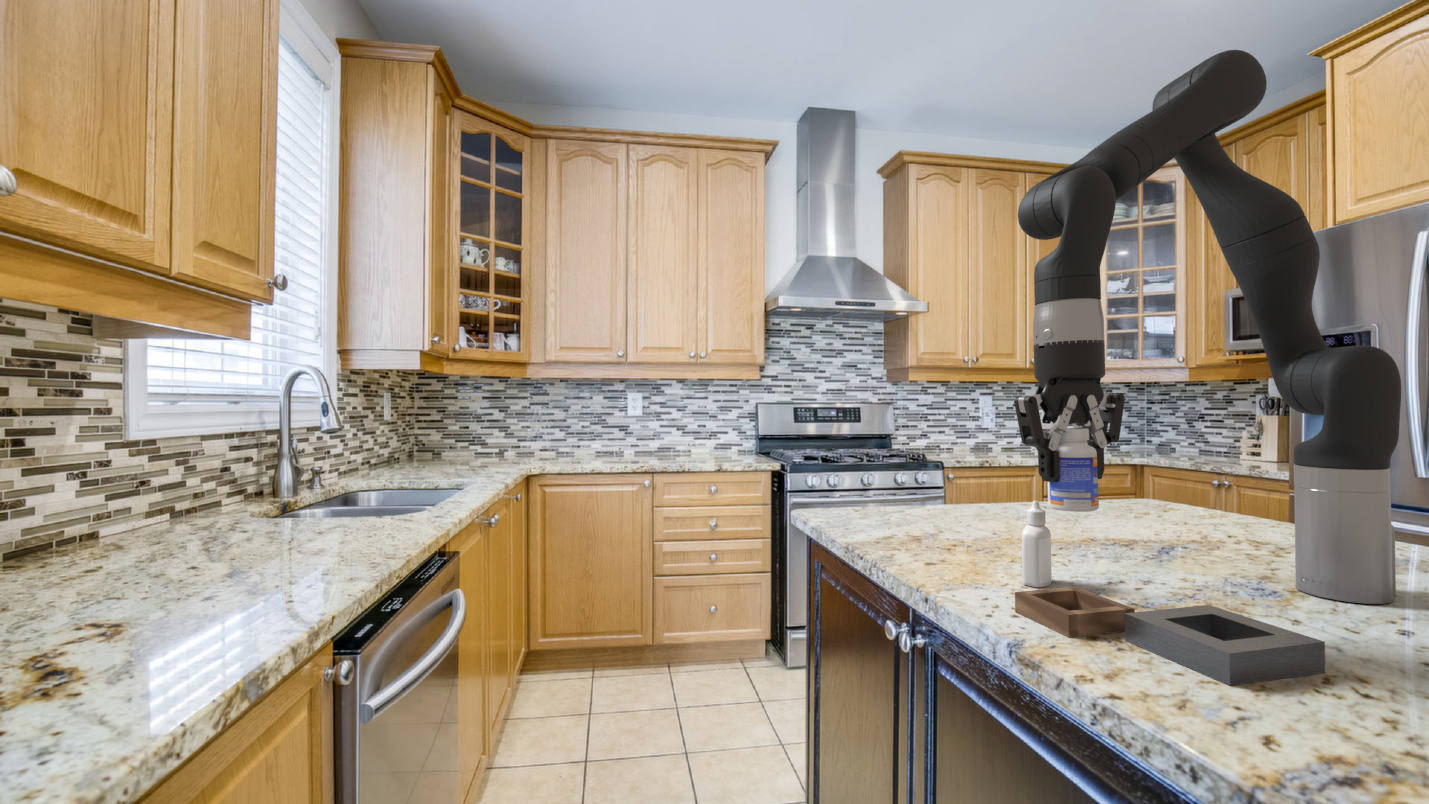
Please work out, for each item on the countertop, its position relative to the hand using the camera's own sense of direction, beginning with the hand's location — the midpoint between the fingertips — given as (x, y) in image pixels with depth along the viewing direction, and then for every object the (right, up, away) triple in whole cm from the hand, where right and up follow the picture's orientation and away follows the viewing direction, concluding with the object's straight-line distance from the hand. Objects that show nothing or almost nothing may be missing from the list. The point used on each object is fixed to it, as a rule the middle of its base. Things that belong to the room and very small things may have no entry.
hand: (1071, 479), depth 76 cm
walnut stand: (0, -17, 0) cm, 17 cm away
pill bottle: (0, -4, 0) cm, 4 cm away
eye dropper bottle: (+4, -17, +16) cm, 24 cm away
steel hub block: (+9, -17, -11) cm, 22 cm away
